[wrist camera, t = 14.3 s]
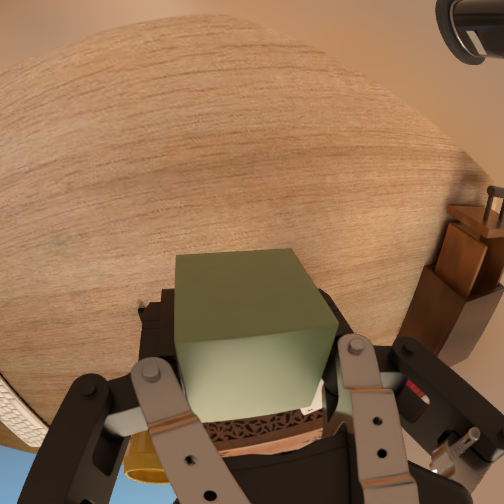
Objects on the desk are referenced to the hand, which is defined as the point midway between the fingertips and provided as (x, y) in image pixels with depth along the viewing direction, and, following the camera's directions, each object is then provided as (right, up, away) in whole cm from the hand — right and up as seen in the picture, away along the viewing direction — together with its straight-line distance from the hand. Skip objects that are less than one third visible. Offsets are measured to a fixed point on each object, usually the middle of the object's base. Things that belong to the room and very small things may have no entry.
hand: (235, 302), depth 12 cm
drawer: (+33, +4, +24) cm, 41 cm away
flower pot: (-18, -31, +33) cm, 49 cm away
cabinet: (+32, -6, +31) cm, 45 cm away
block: (0, 0, 0) cm, 0 cm away
